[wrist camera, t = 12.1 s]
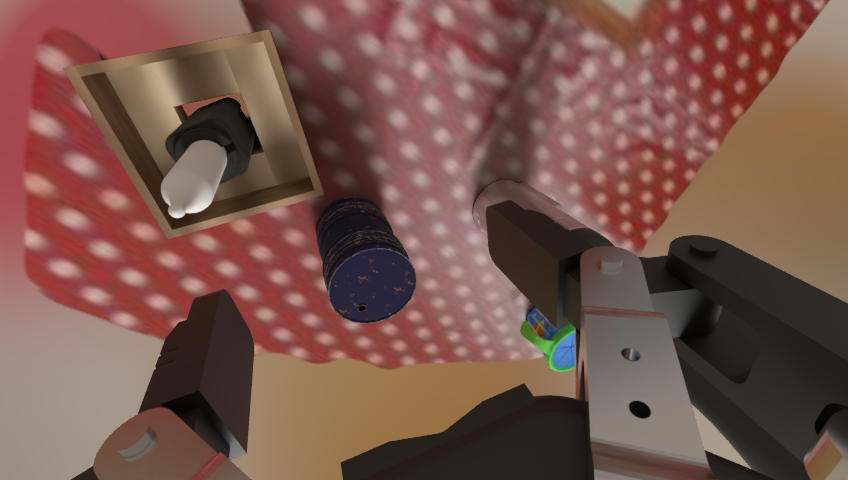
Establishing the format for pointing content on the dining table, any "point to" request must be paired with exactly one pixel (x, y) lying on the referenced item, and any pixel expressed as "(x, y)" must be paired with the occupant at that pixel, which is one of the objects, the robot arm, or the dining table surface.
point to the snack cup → (551, 340)
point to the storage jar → (363, 261)
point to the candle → (206, 155)
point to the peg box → (163, 113)
